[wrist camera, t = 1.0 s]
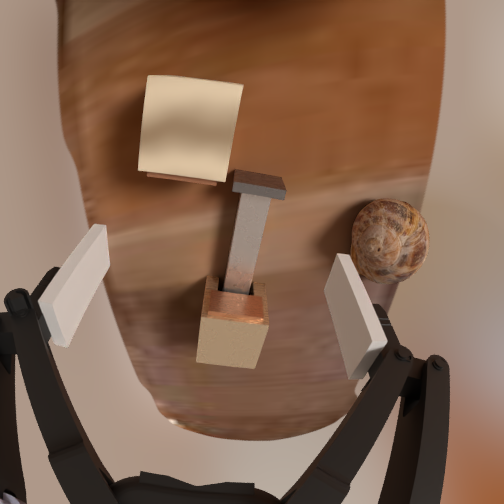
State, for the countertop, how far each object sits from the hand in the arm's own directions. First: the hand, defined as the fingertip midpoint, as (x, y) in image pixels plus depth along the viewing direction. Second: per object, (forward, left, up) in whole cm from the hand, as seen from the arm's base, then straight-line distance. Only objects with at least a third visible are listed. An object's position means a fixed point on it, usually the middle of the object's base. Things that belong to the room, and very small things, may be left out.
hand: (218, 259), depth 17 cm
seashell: (+4, +19, -18) cm, 26 cm away
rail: (+12, +3, -17) cm, 21 cm away
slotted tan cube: (-5, -4, -17) cm, 19 cm away
